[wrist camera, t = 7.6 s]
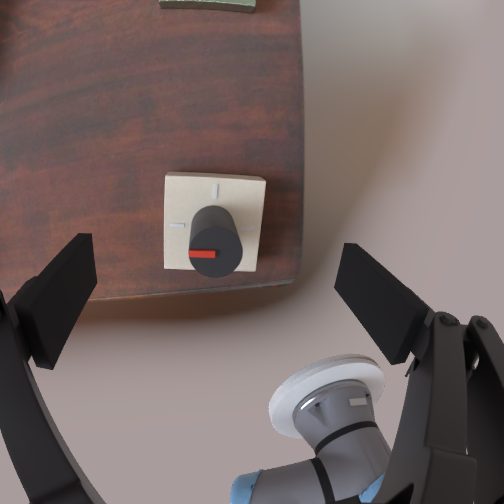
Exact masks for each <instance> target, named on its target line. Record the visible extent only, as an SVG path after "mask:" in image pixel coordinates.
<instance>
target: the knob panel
mask: <svg viewBox="0 0 504 504" xmlns="http://www.w3.org/2000/svg"><path fill="white" fill-rule="evenodd" d="M265 188H266V181H265V180H264V179H263V178H261V177H257V176H245V175H231V174H215V173H196V172H168V173H167V175H166V176H165V202H164V268H165V269H192V270H195V269H194V267H193V266H192V264H191V262H190V260H189V256H188V250H189V240H190V231H191V223H192V219H193V217H194V215H195V214H196V213H197V212H198V211H199V210H200V209H202V208H204V207H206V206H211V205H215V206H220V207H222V208H224V209H226V210H227V211H228V212H229V213H230V214H231V216H232V218H233V220H234V223H235V226H236V229H237V232H238V235H239V238H240V241H241V244H242V247H243V256H242V260H241V262H240V264H239V266H238V267H237V268H236V269H235V270H234V271H256V263H257V255H258V247H259V238H260V230H261V222H262V213H263V205H264V196H265Z"/></svg>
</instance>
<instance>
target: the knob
mask: <svg viewBox="0 0 504 504" xmlns="http://www.w3.org/2000/svg"><path fill="white" fill-rule="evenodd" d="M188 256H189V260H190V262H191V264H192V266H193V267H194V269H195V270H196V271H198V272H199V273H201V274H202V275H204V276H207V277H214V278H215V277H223V276H226V275H228V274H230V273H231V272H233V271H234V270H235V269H236V268H237V267H238V266H239V264H240V262H241V260H242V256H243V247H242V244H241V241H240V238H239V235H238V232H237V229H236V226H235V223H234V220H233V218H232V216H231V214H230V213H229V212H228V211H227V210H226V209H224V208H222V207H220V206H215V205H211V206H206V207H204V208H202V209H200V210H199V211H198V212H197V213H196V214H195V215H194V217H193V219H192V223H191V231H190V240H189V250H188Z"/></svg>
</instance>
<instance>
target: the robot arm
mask: <svg viewBox="0 0 504 504" xmlns="http://www.w3.org/2000/svg"><path fill="white" fill-rule="evenodd" d="M96 284H97V276H96V269H95V261H94V252H93V242H92V234H87V233H78V234H77V235H76V236H75V237H74V238H73V239H72V240H71V241H70V242H69V243H68V244H67V245H66V246H65V247H64V248H63V249H62V250H61V251H60V253H59V254H58V255H57V256H56V257H55V258H54V259H53V260H52V261H51V262H50V263H49V264H48V265H47V266H46V267H45V269H44V270H43V271H42V272H41V273H40V274H39V275H38V276H34V277H33V278H31V279H30V280H28V281H26V282H25V284H24V285H23V286H22V287H21V288H20V289H19V290H18V291H17V293H16V295H14V296H13V297H12V298H11V300H10V301H9V302H8V303H7V304H6V303H5V300H4V297H3V293H2V291H1V290H0V429H1V433H2V436H3V439H4V442H5V444H6V447H7V450H8V452H9V455H10V458H11V460H12V463H13V465H14V468H15V470H16V472H17V474H18V477H19V479H20V481H21V483H22V485H23V488H24V490H25V492H26V494H27V496H28V498H29V501H30V503H29V504H106V503H105V502H104V500H103V499H102V498H101V496H100V495H99V494H98V492H97V491H96V489H95V488H94V487H93V485H92V484H91V483H90V481H89V480H88V478H87V477H86V475H85V474H84V472H83V471H82V469H81V468H80V466H79V464H78V463H77V462H76V460H75V458H74V456H73V455H72V453H71V451H70V450H69V448H68V446H67V444H66V443H65V441H64V439H63V437H62V436H61V434H60V432H59V430H58V428H57V426H56V424H55V422H54V420H53V418H52V416H51V415H50V412H49V410H48V408H47V406H46V404H45V402H44V400H43V397H42V395H41V393H40V391H39V388H38V386H37V383H36V381H35V379H34V376H33V374H32V371H31V369H30V366H29V364H28V361H29V359H30V357H31V355H32V357H33V360H34V362H35V364H36V367H40V368H45V369H50V370H53V369H54V367H55V364H56V362H57V360H58V358H59V355H60V353H61V351H62V349H63V347H64V345H65V343H66V341H67V339H68V337H69V335H70V333H71V331H72V329H73V327H74V325H75V323H76V321H77V319H78V317H79V315H80V313H81V311H82V309H83V308H84V306H85V304H86V302H87V300H88V298H89V297H90V295H91V293H92V291H93V289H94V288H95V286H96ZM334 288H335V290H336V291H337V292H338V293H339V295H340V296H341V297H342V299H343V300H344V301H345V303H346V304H347V305H348V307H349V308H350V309H351V310H352V312H353V313H354V315H355V316H356V317H357V319H358V320H359V321H360V323H361V324H362V325H363V327H364V328H365V329H366V331H367V332H368V333H369V335H370V336H371V338H372V339H373V340H374V342H375V343H376V344H377V346H378V347H379V348H380V350H381V351H382V353H383V354H384V355H385V357H386V358H387V360H388V361H389V362H390V364H391V365H395V364H400V363H405V361H406V359H407V357H408V355H409V353H410V351H411V352H412V353H413V354H414V356H415V357H414V360H413V361H412V363H411V365H410V367H409V369H408V371H407V373H406V375H405V377H407V376H408V374H410V375H409V381H408V386H407V392H406V397H405V402H404V406H403V411H402V415H401V419H400V423H399V428H398V431H397V435H396V439H395V443H394V446H393V449H392V451H391V449H390V448H389V446H388V444H387V442H386V440H385V439H384V437H383V435H382V433H381V432H380V430H379V428H378V426H377V424H376V422H375V419H374V410H373V403H372V396H371V393H370V391H369V389H368V387H367V386H366V384H365V383H364V382H362V381H360V380H356V379H345V380H339V381H335V382H332V383H329V384H326V385H324V386H322V387H320V388H318V389H316V390H314V391H312V392H311V393H309V394H308V395H307V396H305V397H304V398H303V399H302V400H301V401H300V402H299V403H298V404H297V405H296V407H295V409H294V411H293V414H292V419H293V423H294V426H295V428H296V429H297V431H298V432H299V433H300V434H301V436H302V437H303V438H304V439H305V440H306V441H307V443H308V444H309V445H310V446H311V447H312V448H313V450H314V452H315V454H316V457H315V458H313V459H309V460H306V461H302V462H298V463H294V464H290V465H286V466H281V467H277V468H272V469H267V470H263V469H262V470H259V471H258V472H253V473H249V474H244V475H241V476H239V477H237V478H236V479H235V480H234V482H233V484H232V488H231V494H230V504H473V502H474V504H504V344H503V342H502V340H501V339H500V337H499V335H498V333H497V332H496V330H495V328H494V327H493V325H492V324H491V323H490V322H489V321H488V320H487V319H486V318H484V317H482V316H472V318H471V320H470V322H469V324H468V325H462V324H460V322H459V320H458V319H457V318H456V317H454V316H453V315H451V314H449V313H446V312H436V313H435V312H434V311H433V310H432V309H431V308H430V307H429V306H428V305H427V304H426V303H425V302H424V301H423V300H421V299H420V298H419V297H418V296H417V295H416V294H415V293H414V292H413V291H412V290H411V289H409V288H408V287H406V286H405V285H404V284H403V283H401V282H400V281H399V280H398V279H397V278H396V277H395V276H393V275H392V274H391V273H390V272H389V271H388V270H387V269H386V268H384V267H383V266H382V265H381V264H380V263H379V262H377V261H376V260H375V259H374V258H373V257H372V256H371V255H369V254H368V253H367V252H366V251H365V250H363V249H362V248H361V247H360V246H359V245H358V244H353V243H344V248H343V252H342V256H341V261H340V266H339V269H338V274H337V278H336V282H335V286H334ZM478 357H479V362H478V365H477V367H476V369H475V367H474V364H475V363H476V361H477V359H478ZM466 446H467V452H468V455H467V454H466Z"/></svg>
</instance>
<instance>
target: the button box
mask: <svg viewBox="0 0 504 504" xmlns="http://www.w3.org/2000/svg"><path fill="white" fill-rule="evenodd" d="M159 4H160V7H161V8H193V9H214V10H226V11H237V12H245V13H252V12H253V10H254V8H255V5H256V0H159Z"/></svg>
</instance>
